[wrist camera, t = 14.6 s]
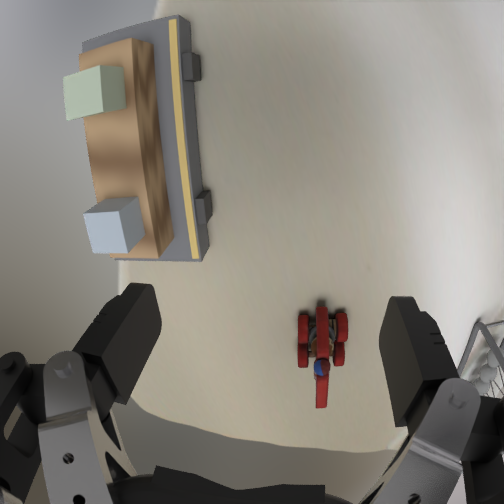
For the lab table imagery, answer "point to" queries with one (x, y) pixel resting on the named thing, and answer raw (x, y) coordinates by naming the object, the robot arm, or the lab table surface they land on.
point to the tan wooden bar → (131, 144)
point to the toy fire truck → (322, 347)
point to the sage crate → (94, 91)
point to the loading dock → (175, 131)
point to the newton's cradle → (494, 359)
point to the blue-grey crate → (115, 225)
